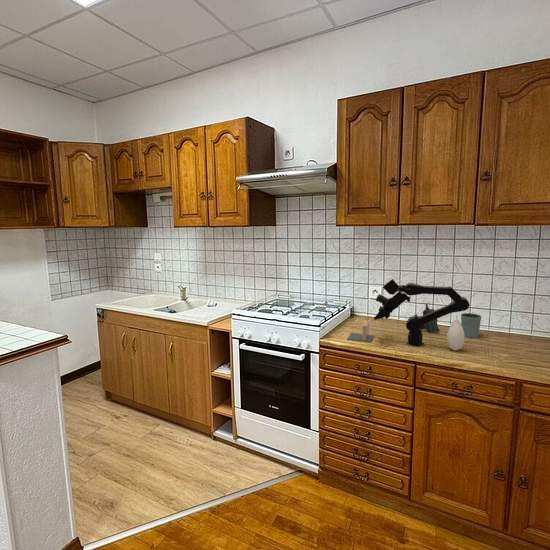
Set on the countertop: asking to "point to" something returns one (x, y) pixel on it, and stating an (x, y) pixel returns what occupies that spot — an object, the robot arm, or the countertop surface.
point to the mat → (360, 337)
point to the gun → (430, 325)
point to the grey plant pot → (470, 324)
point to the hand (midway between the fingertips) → (374, 319)
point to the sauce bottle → (455, 335)
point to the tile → (365, 330)
